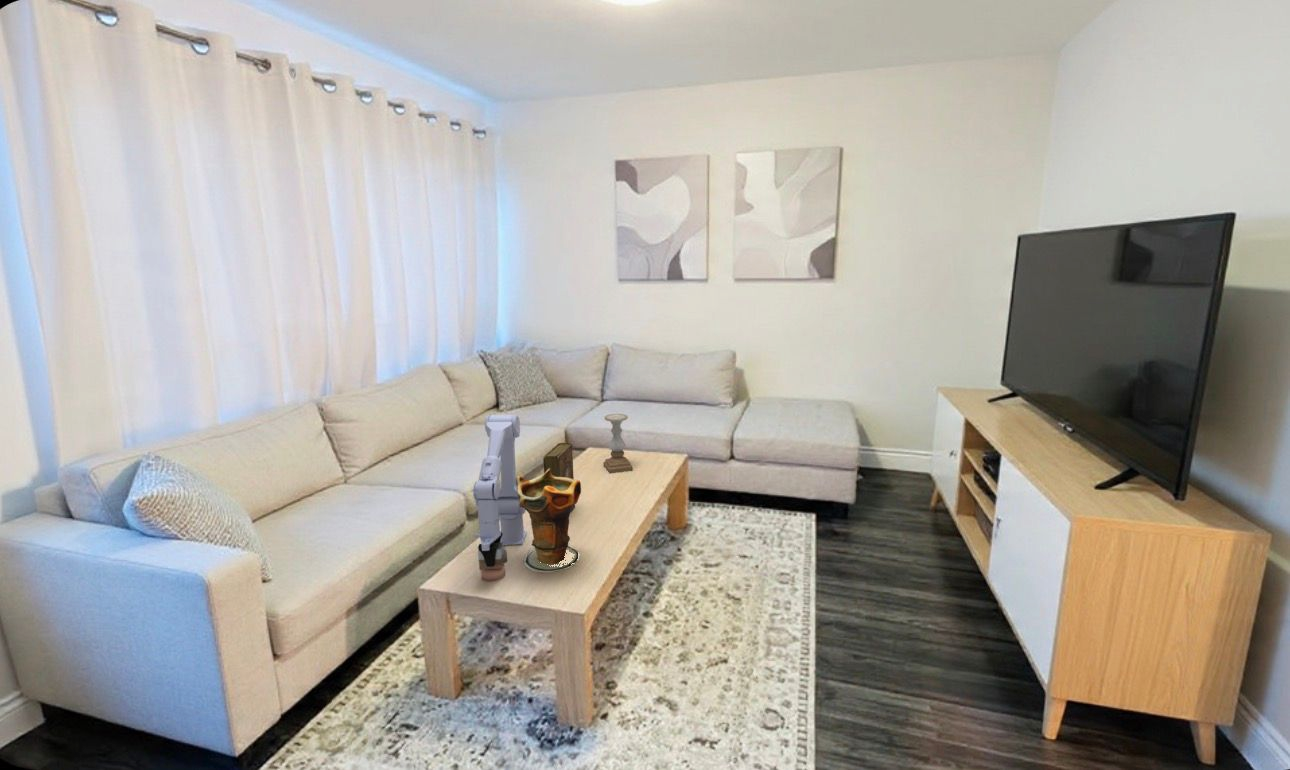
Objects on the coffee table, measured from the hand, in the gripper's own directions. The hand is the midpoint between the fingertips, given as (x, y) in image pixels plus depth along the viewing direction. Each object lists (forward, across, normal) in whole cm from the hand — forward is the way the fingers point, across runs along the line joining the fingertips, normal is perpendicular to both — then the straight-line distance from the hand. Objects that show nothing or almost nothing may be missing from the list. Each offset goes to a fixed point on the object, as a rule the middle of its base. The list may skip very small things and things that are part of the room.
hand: (492, 561), depth 179 cm
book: (+5, -42, +17) cm, 46 cm away
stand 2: (+4, -9, -1) cm, 10 cm away
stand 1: (+4, 0, 0) cm, 4 cm away
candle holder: (+5, -90, +38) cm, 98 cm away
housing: (+1, 0, 0) cm, 1 cm away
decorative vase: (+5, -9, +17) cm, 19 cm away
